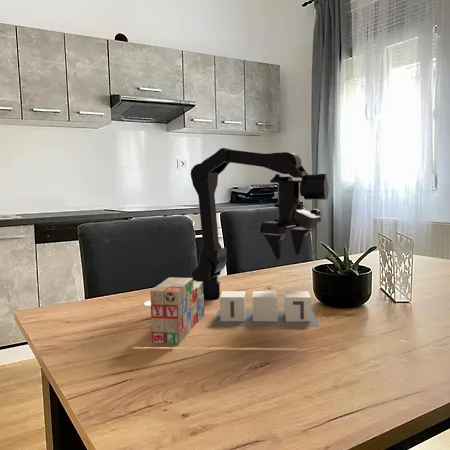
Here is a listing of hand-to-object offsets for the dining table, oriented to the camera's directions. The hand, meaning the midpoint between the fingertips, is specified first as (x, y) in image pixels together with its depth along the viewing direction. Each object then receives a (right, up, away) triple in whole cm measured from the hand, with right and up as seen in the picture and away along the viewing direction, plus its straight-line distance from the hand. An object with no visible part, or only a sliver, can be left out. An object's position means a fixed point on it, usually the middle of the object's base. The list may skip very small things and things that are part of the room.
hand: (288, 256), depth 123 cm
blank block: (-7, -15, -10) cm, 19 cm away
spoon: (-36, -14, +13) cm, 41 cm away
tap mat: (-7, -15, -10) cm, 19 cm away
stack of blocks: (-28, -16, -16) cm, 36 cm away
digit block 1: (-15, -15, -9) cm, 23 cm away
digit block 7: (+1, -14, -10) cm, 18 cm away
